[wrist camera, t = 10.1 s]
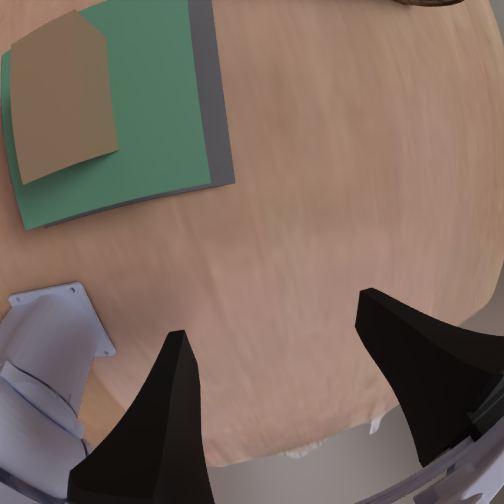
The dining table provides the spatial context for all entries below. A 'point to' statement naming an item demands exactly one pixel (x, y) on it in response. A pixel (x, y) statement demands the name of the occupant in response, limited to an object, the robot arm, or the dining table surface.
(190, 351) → the robot arm
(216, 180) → the chassis
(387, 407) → the dining table surface
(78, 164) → the board
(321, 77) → the dining table surface
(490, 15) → the dining table surface
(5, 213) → the dining table surface
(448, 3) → the tin
